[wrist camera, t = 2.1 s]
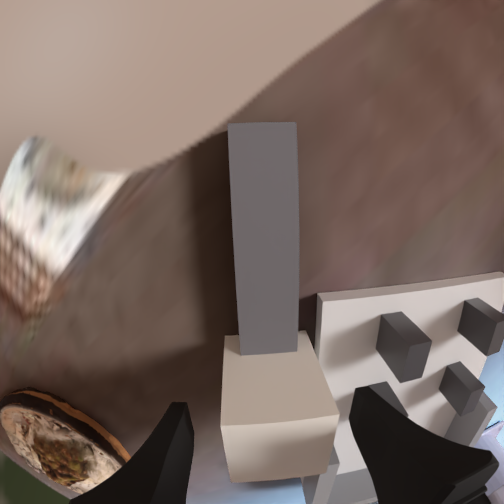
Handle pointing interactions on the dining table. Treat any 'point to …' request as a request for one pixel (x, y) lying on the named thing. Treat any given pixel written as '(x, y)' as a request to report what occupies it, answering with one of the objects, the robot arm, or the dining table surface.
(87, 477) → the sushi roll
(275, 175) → the cream block gray bar
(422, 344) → the board
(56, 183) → the dining table surface
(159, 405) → the dining table surface
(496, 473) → the robot arm
